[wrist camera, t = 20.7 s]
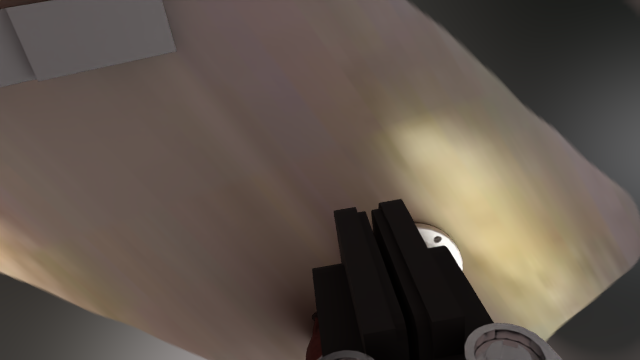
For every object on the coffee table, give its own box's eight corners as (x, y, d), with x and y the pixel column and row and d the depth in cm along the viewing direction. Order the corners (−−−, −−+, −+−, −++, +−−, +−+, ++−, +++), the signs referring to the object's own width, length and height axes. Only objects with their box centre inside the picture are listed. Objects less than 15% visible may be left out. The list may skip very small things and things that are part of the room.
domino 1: (76, -4, 32) (-90, 23, 28) (101, 64, 34) (-49, 98, 30) (74, -3, 34) (-84, 23, 29) (99, 62, 36) (-46, 94, 32)
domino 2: (156, -17, 32) (5, 8, 29) (176, 51, 34) (38, 81, 31) (154, -17, 34) (9, 7, 30) (174, 49, 36) (40, 77, 33)
